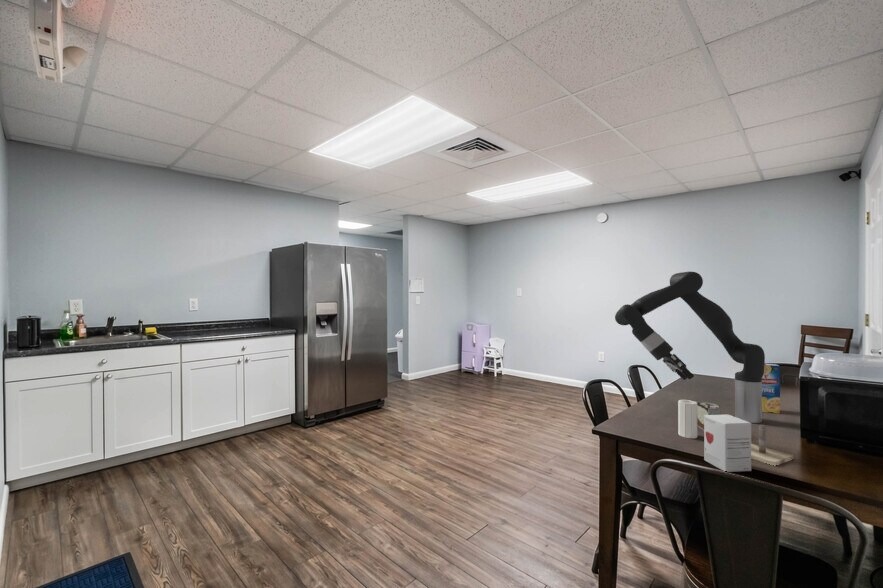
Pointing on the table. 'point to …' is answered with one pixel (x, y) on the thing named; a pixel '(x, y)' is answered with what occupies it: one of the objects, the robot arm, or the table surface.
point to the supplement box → (727, 442)
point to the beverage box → (771, 388)
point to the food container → (705, 411)
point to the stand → (767, 451)
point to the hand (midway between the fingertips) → (689, 378)
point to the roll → (687, 418)
